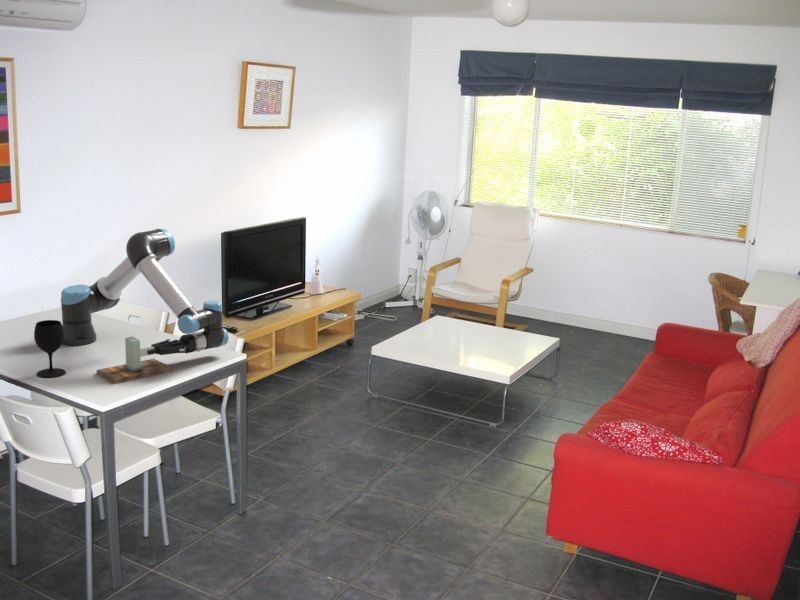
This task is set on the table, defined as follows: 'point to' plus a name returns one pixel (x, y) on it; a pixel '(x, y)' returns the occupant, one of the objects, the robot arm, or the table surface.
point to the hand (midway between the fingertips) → (138, 353)
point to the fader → (132, 354)
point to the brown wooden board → (123, 374)
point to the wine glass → (49, 344)
